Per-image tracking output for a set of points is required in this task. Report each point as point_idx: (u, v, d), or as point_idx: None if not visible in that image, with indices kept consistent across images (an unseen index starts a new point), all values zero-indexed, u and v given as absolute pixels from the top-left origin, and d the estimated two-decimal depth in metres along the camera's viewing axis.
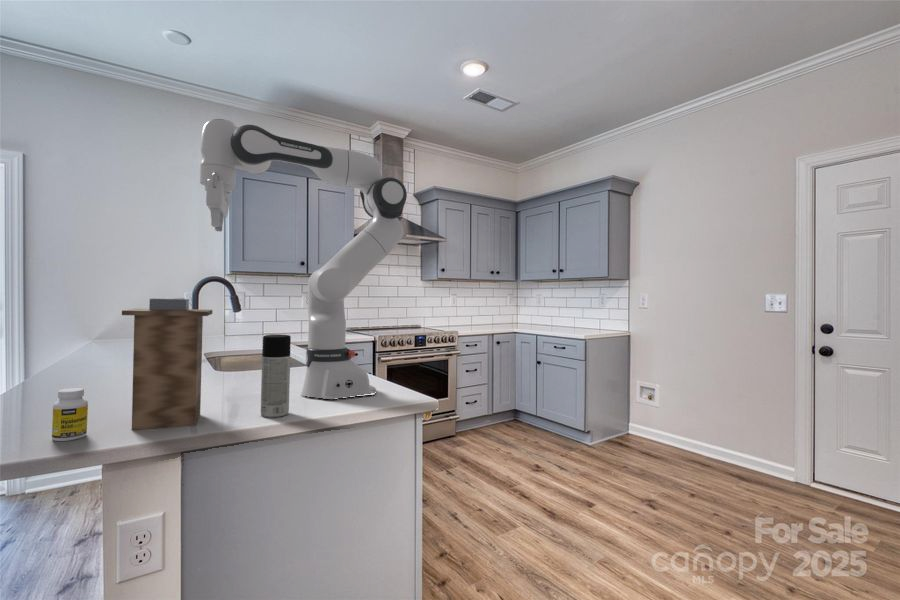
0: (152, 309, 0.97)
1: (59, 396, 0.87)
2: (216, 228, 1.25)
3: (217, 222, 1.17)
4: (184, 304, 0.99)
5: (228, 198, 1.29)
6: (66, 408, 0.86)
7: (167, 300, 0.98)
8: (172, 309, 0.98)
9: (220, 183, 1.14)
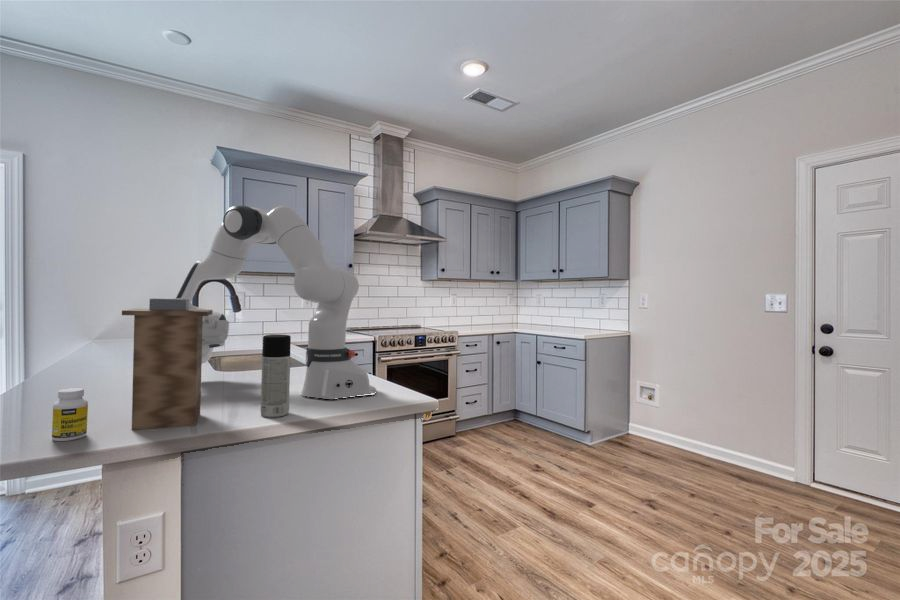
0: (152, 309, 0.97)
1: (59, 396, 0.87)
2: None
3: None
4: (184, 304, 0.99)
5: None
6: (66, 408, 0.86)
7: (167, 300, 0.98)
8: (172, 309, 0.98)
9: None
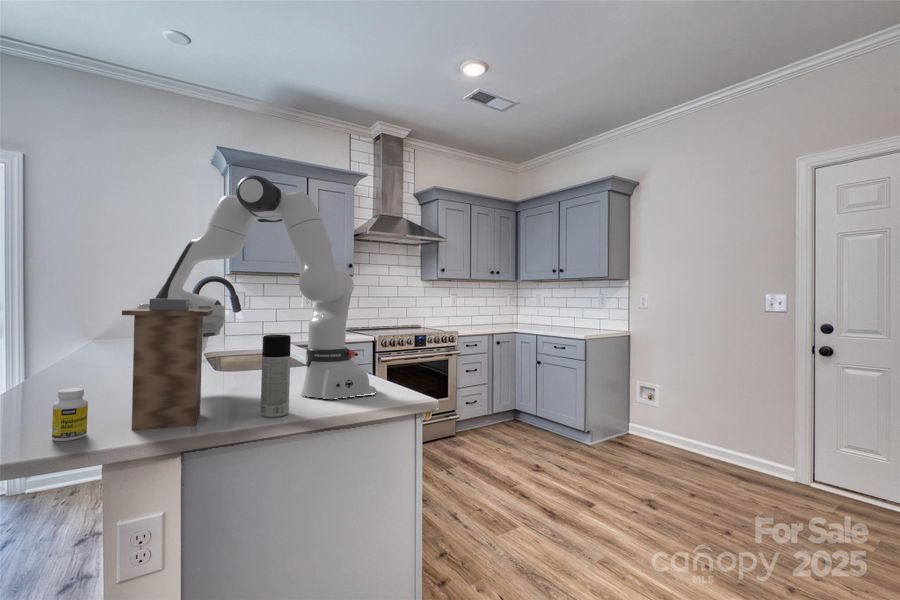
0: (152, 309, 0.97)
1: (59, 396, 0.87)
2: None
3: None
4: (184, 304, 0.99)
5: None
6: (66, 408, 0.86)
7: (167, 300, 0.98)
8: (172, 309, 0.98)
9: None
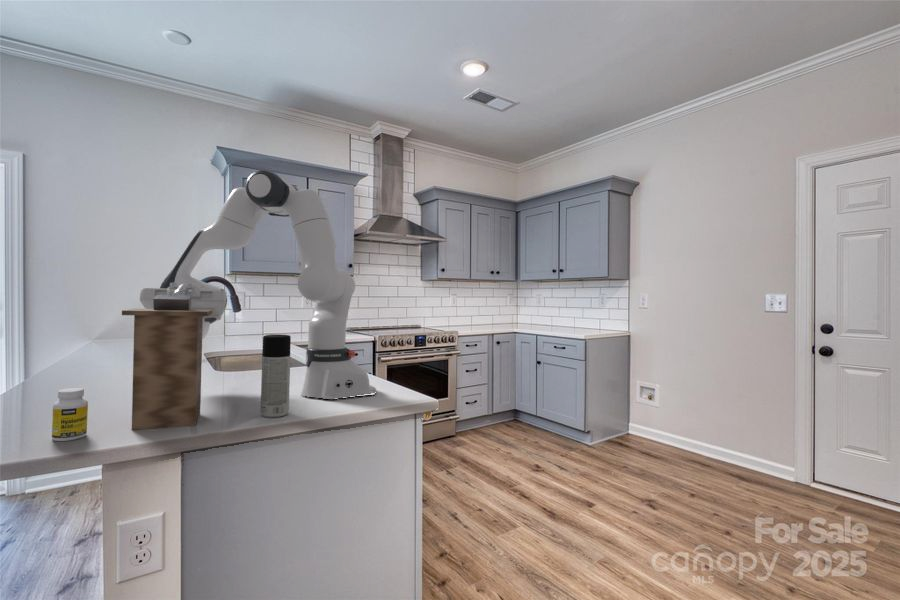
0: (156, 308, 1.00)
1: (59, 396, 0.87)
2: None
3: None
4: (187, 304, 1.02)
5: None
6: (66, 408, 0.87)
7: (170, 300, 1.01)
8: (175, 308, 1.02)
9: None
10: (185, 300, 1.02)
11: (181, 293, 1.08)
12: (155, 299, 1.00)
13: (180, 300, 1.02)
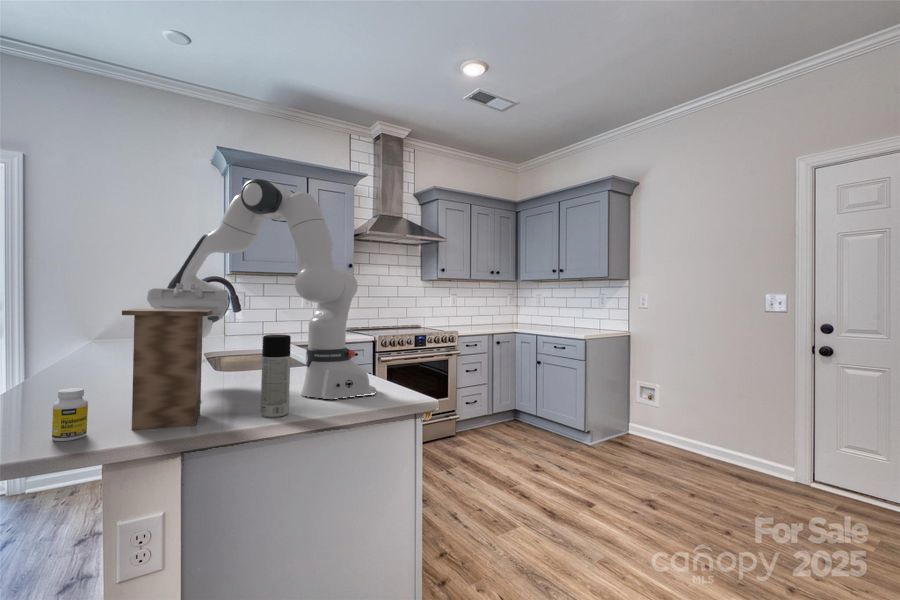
0: None
1: (59, 396, 0.87)
2: None
3: None
4: None
5: None
6: (66, 408, 0.86)
7: None
8: None
9: None
10: None
11: None
12: None
13: None
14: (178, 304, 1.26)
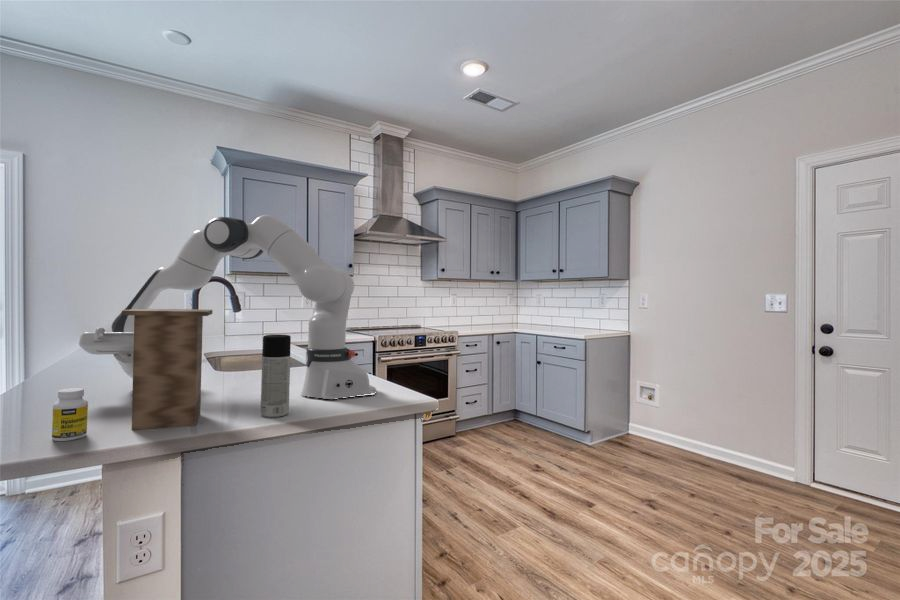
0: None
1: (59, 396, 0.87)
2: None
3: None
4: None
5: None
6: (66, 408, 0.86)
7: None
8: None
9: None
10: None
11: None
12: None
13: None
14: (115, 348, 1.18)
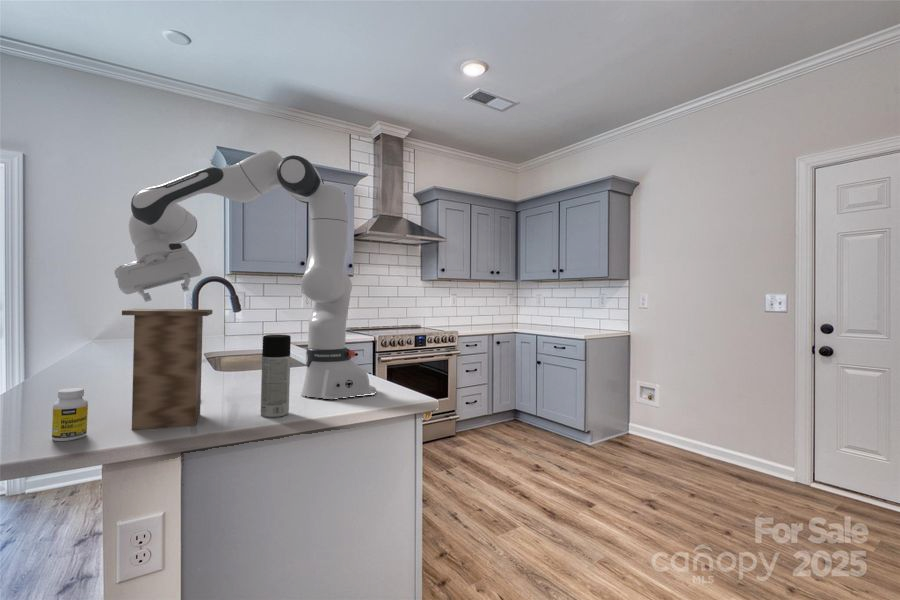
0: None
1: (59, 396, 0.87)
2: None
3: (143, 296, 1.19)
4: None
5: (186, 255, 1.27)
6: (66, 408, 0.86)
7: None
8: None
9: None
10: None
11: None
12: None
13: None
14: None
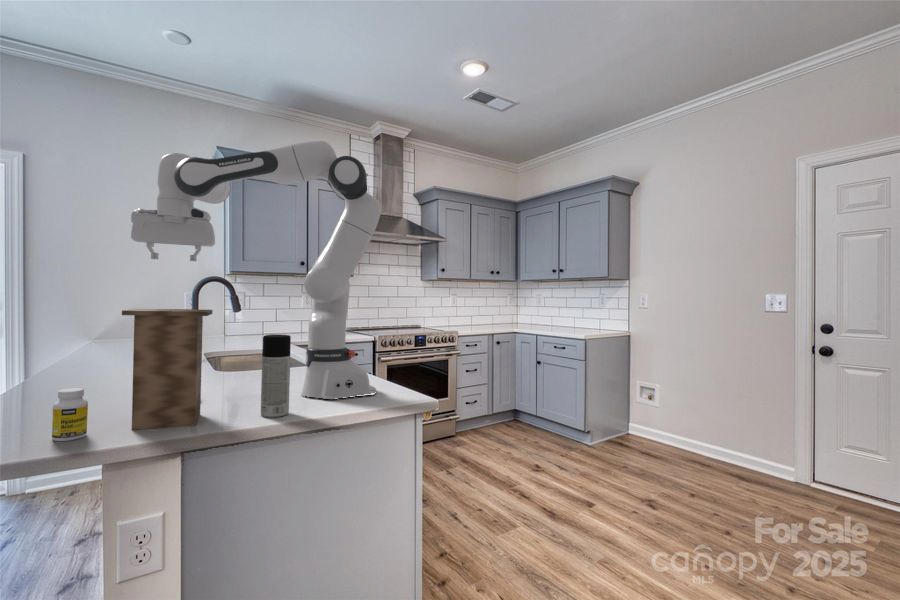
0: None
1: (59, 396, 0.87)
2: None
3: (151, 255, 1.22)
4: None
5: (204, 225, 1.26)
6: (66, 408, 0.86)
7: None
8: None
9: (134, 218, 1.20)
10: None
11: None
12: None
13: None
14: None
